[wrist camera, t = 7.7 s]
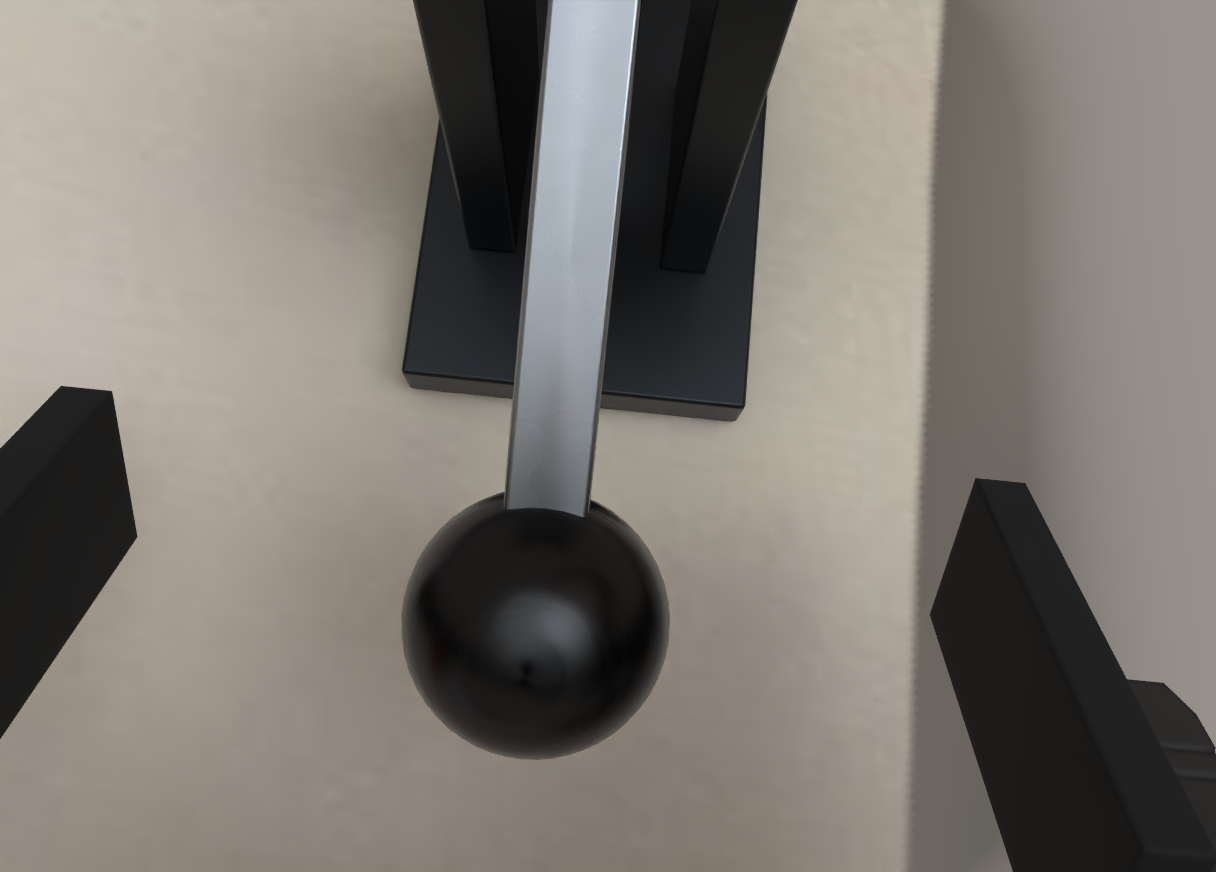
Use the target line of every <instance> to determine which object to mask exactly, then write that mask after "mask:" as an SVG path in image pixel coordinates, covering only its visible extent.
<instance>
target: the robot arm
mask: <svg viewBox="0 0 1216 872" xmlns="http://www.w3.org/2000/svg"><path fill="white" fill-rule="evenodd" d="M136 538H137V532H136V526H135V520H134V515H133V509H132V503H131V497H130V492H129V486H128V480H127V474H126V469H125V463H124V457H123V451H122V446H121V440H120V434H119V428H118V422H117V417H116V411H115V405H114V399H113V394H112V391H105V390H95V389H85V388H75V387H66V386H60V388H59V389H58V390H57V391H56V392H55V393H54V394H53V395H52V396H51V397H50V398H49V399H48V400H47V401H46V402H45V403H44V404H43V405H42V406H41V407H40V408H39V409H38V410H37V411H36V412H35V413H34V414H33V415H32V416H31V417H30V419H29V420H28V421H27V422H26V423H25V424H24V425H23V426H22V427H21V428H20V429H19V430H18V431H17V432H16V433H15V434H14V435H13V436H12V437H11V438H10V439H9V440H8V441H7V442H6V443H5V444H4V445H3V446H2V447H1V448H0V739H1V737H2V736H3V734H4V733H5V731H6V730H7V728H8V727H9V725H10V724H11V723H12V721H13V720H14V718H15V717H16V715H17V714H18V712H19V711H20V709H21V708H22V706H23V705H24V703H25V702H26V700H27V699H28V697H29V696H30V695H31V693H32V692H33V690H34V689H35V687H36V686H37V684H38V683H39V681H40V680H41V678H42V677H43V675H44V674H45V672H46V671H47V669H48V668H49V666H50V665H51V664H52V662H53V661H54V659H55V658H56V656H57V655H58V653H59V652H60V650H61V649H62V647H63V646H64V644H65V643H66V641H67V640H68V638H69V637H70V635H71V634H72V633H73V631H74V630H75V628H76V627H77V625H78V624H79V622H80V621H81V619H82V618H83V616H84V615H85V613H86V612H87V610H88V609H89V607H90V606H91V605H92V603H93V602H94V600H95V599H96V597H97V596H98V594H99V593H100V591H101V590H102V588H103V587H104V585H105V584H106V582H107V581H108V579H109V578H110V576H111V575H112V574H113V572H114V571H115V569H116V568H117V566H118V565H119V563H120V562H121V560H122V559H123V557H124V556H125V554H126V553H127V551H128V550H129V548H130V547H131V545H132V544H133V543H134V541H135V540H136ZM930 617H931V620H932V623H933V626H934V629H935V632H936V635H937V639H938V641H939V644H940V648H941V651H942V654H943V657H944V660H945V663H946V666H947V669H948V673H949V675H950V679H951V681H952V685H953V688H954V691H955V694H956V697H957V700H958V703H959V706H960V709H961V712H962V716H963V719H964V722H965V725H966V728H967V731H968V734H969V737H970V740H971V743H972V746H973V750H974V753H975V756H976V759H977V762H978V765H979V768H980V771H981V774H982V777H983V781H984V784H985V786H986V790H987V793H988V796H989V799H990V802H991V805H992V808H993V811H994V815H995V818H996V821H997V824H998V827H999V830H1000V833H1001V836H1002V839H1003V842H1004V845H1005V848H1006V852H1007V855H1008V858H1009V861H1010V864H1011V867H1012V870H1013V872H1216V753H1215V746H1214V744H1213V743H1212V741H1211V739H1210V738H1209V736H1208V734H1207V732H1206V730H1205V729H1204V727H1203V725H1202V724H1201V722H1200V720H1199V718H1198V717H1197V715H1196V714H1195V713H1194V712H1193V711H1192V710H1191V709H1190V708H1189V707H1188V706H1187V705H1186V704H1185V703H1184V702H1183V701H1182V700H1181V699H1180V698H1179V697H1178V696H1177V695H1176V694H1175V693H1173V692H1172V691H1171V690H1170V689H1169V688H1168V687H1167V686H1166V685H1165V684H1164V683H1158V682H1148V681H1138V680H1128V679H1126V677H1125V675H1124V673H1123V671H1122V669H1121V667H1120V665H1119V663H1118V661H1117V659H1116V658H1115V656H1114V654H1113V652H1112V650H1111V648H1110V646H1109V644H1108V642H1107V640H1106V638H1105V636H1104V635H1103V633H1102V631H1101V629H1100V627H1099V625H1098V623H1097V621H1096V619H1095V617H1094V615H1093V613H1092V611H1091V609H1090V608H1089V606H1088V603H1087V602H1086V600H1085V598H1084V596H1083V594H1082V592H1081V590H1080V588H1079V586H1078V585H1077V582H1076V580H1075V578H1074V576H1073V575H1072V573H1071V571H1070V569H1069V567H1068V565H1067V563H1066V561H1065V559H1064V557H1063V555H1062V553H1061V551H1060V549H1059V547H1058V546H1057V544H1056V542H1055V540H1054V538H1053V536H1052V534H1051V532H1050V530H1049V528H1048V526H1047V524H1046V523H1045V520H1044V518H1043V517H1042V515H1041V513H1040V511H1039V509H1038V507H1037V505H1036V503H1035V501H1034V499H1033V497H1032V495H1031V494H1030V491H1029V490H1028V488H1027V486H1026V484H1025V483H1019V482H1009V481H999V480H989V479H978V478H976V479H975V481H974V484H973V487H972V491H971V494H970V496H969V499H968V502H967V506H966V508H965V511H964V514H963V517H962V520H961V523H960V526H959V529H958V532H957V535H956V538H955V541H954V544H953V547H952V550H951V553H950V556H949V559H948V562H947V565H946V568H945V571H944V574H943V577H942V580H941V583H940V586H939V589H938V592H937V595H936V598H935V601H934V604H933V607H932V610H931V614H930Z"/></svg>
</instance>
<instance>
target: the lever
mask: <svg viewBox="0 0 1216 872" xmlns="http://www.w3.org/2000/svg"><path fill="white" fill-rule="evenodd" d="M641 9H642V0H548V1H547V12H546V23H545V35H544V46H543V58H542V69H541V81H540V92H539V104H538V115H537V126H536V138H535V149H534V161H533V172H532V184H531V195H530V207H529V218H528V230H527V241H526V252H525V264H524V275H523V287H522V298H521V310H520V321H519V333H518V344H517V355H516V367H515V378H514V390H513V401H512V413H511V424H510V436H509V447H508V459H507V470H506V481H505V492H502V493H499V494H496V495H493V496H491V497H488V498H485V499H483V500H481V501H479V502H477V503H475V504H473V505H471V506H469V507H467V508H466V509H464V510H463V511H461V512H460V513H458V514H457V515H456V516H454V517H453V518H452V519H451V520H450V521H448V522H447V523H446V524H445V525H444V526H443V527H442V528H441V529H440V530H439V531H438V532H437V534H436V535H435V536H434V537H433V538H432V540H431V541H430V542H429V543H428V544H427V546H426V547H425V549H424V550H423V552H422V554H421V555H420V557H419V558H418V560H417V562H416V565H415V567H414V569H413V571H412V574H411V576H410V579H409V582H408V585H407V589H406V592H405V596H404V601H403V608H402V642H403V649H404V655H405V658H406V662H407V665H408V669H409V671H410V674H411V676H412V679H413V681H414V683H415V686H416V688H417V690H418V692H419V693H420V695H421V696H422V698H423V700H424V701H425V703H426V704H427V706H428V707H429V708H430V709H431V711H432V712H433V713H434V714H435V716H436V717H437V718H438V719H440V720H441V721H442V722H443V723H444V724H445V725H446V726H447V727H448V728H449V729H450V730H452V731H453V732H454V733H456V734H457V735H458V736H460V737H461V738H462V739H464V740H466V741H468V742H469V743H471V744H473V745H475V746H476V747H479V748H481V749H484V750H486V751H488V752H491V753H494V754H498V755H501V756H505V757H511V758H517V759H531V760H539V759H552V758H557V757H562V756H566V755H570V754H573V753H576V752H579V751H582V750H585V749H587V748H589V747H591V746H593V745H595V744H598V743H600V742H601V741H603V740H604V739H606V738H607V737H609V736H611V735H612V734H614V733H615V732H616V731H617V730H618V729H620V728H621V727H622V726H623V725H624V724H625V723H627V721H628V720H629V719H630V718H631V717H632V716H633V715H634V714H635V713H636V712H637V711H638V709H639V708H640V707H641V706H642V705H643V703H644V702H645V700H646V699H647V697H648V696H649V694H650V693H651V691H652V689H653V687H654V685H655V683H656V681H657V679H658V676H659V674H660V671H661V668H662V666H663V663H664V660H665V657H666V651H667V646H668V641H669V623H670V615H669V603H668V598H667V593H666V589H665V585H664V582H663V579H662V576H661V574H660V571H659V568H658V566H657V563H656V561H655V560H654V558H653V556H652V554H651V552H650V550H649V549H648V547H647V546H646V545H645V543H644V542H643V541H642V539H641V538H640V537H639V535H638V534H637V533H636V532H635V531H634V530H633V529H632V528H631V527H630V526H629V525H628V524H627V523H626V522H625V521H624V520H623V519H621V518H620V517H619V516H618V515H616V514H615V513H614V512H613V511H611V510H609V509H608V508H606V507H605V506H603V505H601V504H600V503H598V502H596V501H593V500H591V499H590V497H591V488H592V478H593V468H594V459H595V449H596V440H597V430H598V421H599V411H600V401H601V392H602V382H603V373H604V363H605V353H606V344H607V334H608V325H609V315H610V306H611V296H612V286H613V277H614V267H615V258H616V248H617V238H618V229H619V219H620V210H621V200H622V191H623V181H624V171H625V162H626V152H627V143H628V133H629V124H630V114H631V104H632V95H633V85H634V76H635V66H636V56H637V47H638V37H639V28H640V18H641Z"/></svg>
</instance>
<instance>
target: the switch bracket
mask: <svg viewBox="0 0 1216 872" xmlns="http://www.w3.org/2000/svg"><path fill="white" fill-rule="evenodd" d="M547 1H548V0H413V3H414V8H415V12H416V16H417V21H418V25H419V30H420V34H421V38H422V43H423V47H424V52H425V56H426V60H427V65H428V69H429V74H430V78H431V82H432V87H433V91H434V96H435V100H436V104H437V109H438V113H439V123H438V130H437V136H436V143H435V150H434V157H433V163H432V170H431V177H430V183H429V190H428V197H427V204H426V210H425V217H424V224H423V231H422V237H421V244H420V251H419V257H418V264H417V271H416V278H415V284H414V291H413V298H412V304H411V311H410V318H409V325H408V331H407V338H406V345H405V351H404V358H403V365H402V372H403V374H404V376H405V378H406V380H407V382H408V384H409V386H410V387H412V388H418V389H427V390H437V391H447V392H456V393H466V394H475V395H485V396H494V397H504V398H513V390H514V378H515V367H516V355H517V344H518V333H519V321H520V310H521V298H522V287H523V275H524V264H525V252H526V241H527V230H528V218H529V207H530V195H531V184H532V172H533V161H534V149H535V138H536V126H537V115H538V104H539V92H540V81H541V69H542V58H543V46H544V35H545V23H546V12H547ZM797 1H798V0H642V9H641V18H640V28H639V37H638V47H637V56H636V66H635V76H634V85H633V95H632V104H631V114H630V124H629V133H628V143H627V152H626V162H625V171H624V181H623V191H622V200H621V210H620V219H619V229H618V238H617V248H616V258H615V267H614V277H613V286H612V296H611V306H610V315H609V325H608V334H607V344H606V353H605V363H604V373H603V382H602V392H601V401H600V408H610V409H619V410H629V411H638V412H648V413H658V414H667V415H677V416H686V417H696V418H705V419H715V420H725V421H736V420H737V418H738V417H739V415H740V413H741V412H742V410H743V409H744V407H745V401H746V387H747V373H748V359H749V345H750V330H751V316H752V302H753V288H754V274H755V260H756V246H757V232H758V218H759V204H760V190H761V176H762V162H763V148H764V134H765V120H766V106H767V92H768V88H769V85H770V82H771V79H772V76H773V73H774V70H775V67H776V64H777V61H778V58H779V55H780V52H781V49H782V46H783V43H784V40H785V37H786V34H787V31H788V28H789V25H790V22H791V19H792V16H793V13H794V10H795V7H796V4H797Z"/></svg>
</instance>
